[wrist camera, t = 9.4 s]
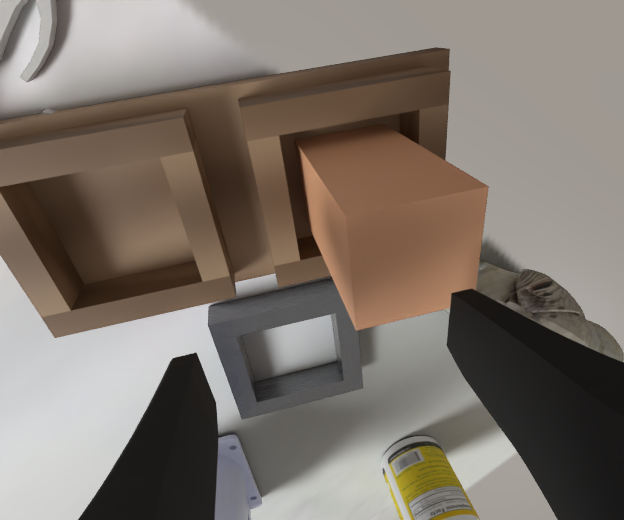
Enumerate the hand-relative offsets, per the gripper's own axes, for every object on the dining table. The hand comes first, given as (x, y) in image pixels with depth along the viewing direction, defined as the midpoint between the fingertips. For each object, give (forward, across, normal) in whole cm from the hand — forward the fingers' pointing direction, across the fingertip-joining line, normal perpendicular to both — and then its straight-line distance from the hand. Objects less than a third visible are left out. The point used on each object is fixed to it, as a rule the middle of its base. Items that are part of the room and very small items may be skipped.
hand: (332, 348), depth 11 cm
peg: (+9, -3, -2) cm, 10 cm away
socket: (+10, +1, +9) cm, 14 cm away
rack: (+10, +2, -2) cm, 11 cm away
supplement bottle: (+11, -7, +25) cm, 28 cm away
